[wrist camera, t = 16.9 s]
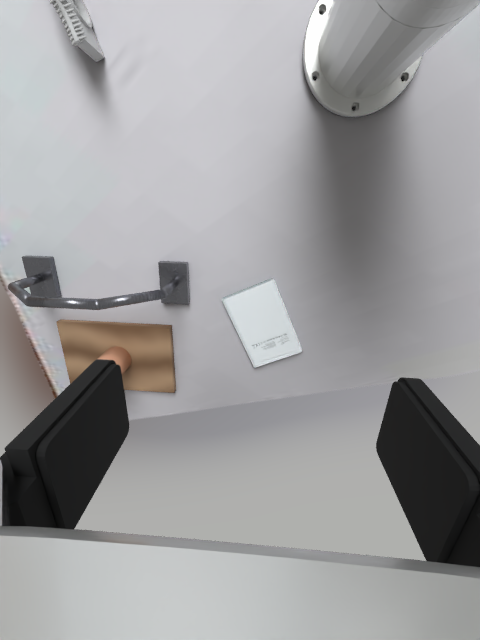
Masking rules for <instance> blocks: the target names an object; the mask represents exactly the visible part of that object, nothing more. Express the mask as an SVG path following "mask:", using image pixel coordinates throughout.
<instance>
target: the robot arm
mask: <svg viewBox="0 0 480 640" xmlns="http://www.w3.org/2000/svg"><path fill="white" fill-rule="evenodd" d="M478 4H480V0H318V2H317V4H316V6H315V8H314V10H313V12H312V14H311V17H310V20H309V23H308V26H307V30H306V34H305V39H304V47H303V65H304V72H305V76H306V80H307V83H308V85H309V87H310V90H311V92H312V93H313V95H314V96H315V98H316V99H317V101H318V102H319V103H320V104H321V105H323V106H324V107H325V108H326V109H328V110H329V111H331V112H333V113H334V114H337V115H341V116H344V117H360V116H366V115H369V114H371V113H374V112H376V111H378V110H380V109H382V108H383V107H385V106H386V105H388V104H389V103H390V102H392V101H393V100H394V99H395V98H396V97H397V96H398V95H399V94H400V93H401V92H402V91H403V90H404V89H405V88H406V86H407V85H408V84H409V83H410V81H411V80H412V78H413V76H414V74H415V72H416V70H417V69H418V67H419V64H420V62H421V59H422V56H423V54H424V53H425V52H426V51H427V50H428V49H430V48H431V47H432V46H433V45H434V44H435V43H436V42H437V41H438V40H440V39H441V38H442V37H443V36H444V35H445V34H446V33H447V32H449V31H450V30H451V29H452V28H453V27H454V26H455V25H456V24H457V23H459V22H460V21H461V20H462V19H463V18H464V17H465V16H466V15H468V14H469V13H470V12H471V11H472V10H473V9H474V8H475V7H476V6H477V5H478ZM319 12H322V13H323V15H320V14H319ZM313 77H316V79H317V80H316V81H313V80H312V78H313ZM401 77H402V78H403V82H402V81H401ZM352 107H355V111H352ZM128 431H129V421H128V414H127V407H126V400H125V393H124V386H123V380H122V373H121V367H120V365H118V364H116V362H115V361H114V360H103V359H96V360H95V361H94V362H93V363H92V364H91V365H90V366H88V367H87V368H86V369H85V370H84V371H83V372H82V373H81V374H80V375H79V376H78V377H77V378H76V379H75V380H74V381H73V382H72V383H71V384H70V385H69V386H68V387H67V388H66V389H65V390H64V391H63V392H62V393H61V394H60V395H59V396H58V397H57V398H56V399H55V400H54V401H53V402H52V403H50V405H48V406H47V407H46V408H45V409H44V410H43V411H42V412H41V413H40V414H39V415H38V416H37V417H36V418H35V419H34V420H33V421H32V422H31V423H30V424H29V425H28V426H27V427H26V428H25V429H24V430H23V431H22V432H21V433H20V434H19V435H18V436H17V437H16V438H15V439H14V440H13V441H12V442H10V443H9V444H8V445H7V446H6V448H5V451H6V452H5V453H4V454H3V455H2V456H1V457H0V640H480V445H479V444H478V443H477V442H476V441H475V440H474V439H473V437H471V435H470V434H469V433H468V432H467V431H466V430H465V428H464V427H463V426H462V425H461V424H460V423H459V422H458V421H457V419H456V418H455V417H454V416H453V415H452V414H451V413H450V412H449V410H448V409H447V408H446V407H445V406H444V405H443V404H442V403H441V402H440V400H439V399H438V398H437V397H436V396H435V395H434V393H433V392H432V391H431V390H430V389H429V388H428V387H427V386H426V385H425V383H424V382H423V381H422V380H421V379H416V378H400V379H399V380H398V382H394V383H393V385H392V388H391V391H390V395H389V399H388V403H387V406H386V410H385V413H384V418H383V421H382V424H381V428H380V432H379V436H378V439H377V443H376V448H377V453H378V455H379V458H380V460H381V462H382V465H383V467H384V469H385V471H386V473H387V475H388V477H389V480H390V482H391V484H392V486H393V489H394V491H395V493H396V495H397V497H398V500H399V502H400V504H401V506H402V508H403V511H404V513H405V515H406V517H407V519H408V521H409V523H410V526H411V528H412V530H413V532H414V534H415V537H416V539H417V541H418V543H419V545H420V548H421V550H422V552H423V554H424V557H425V558H426V560H427V561H420V560H411V559H400V558H390V557H380V556H369V555H359V554H349V553H338V552H328V551H318V550H307V549H295V548H285V547H274V546H263V545H252V544H241V543H230V542H219V541H208V540H197V539H186V538H174V537H162V536H149V535H138V534H126V533H114V532H103V531H91V530H75V529H74V528H75V527H76V525H77V523H78V521H79V520H80V518H81V516H82V514H83V513H84V511H85V509H86V507H87V505H88V504H89V502H90V500H91V498H92V497H93V495H94V493H95V491H96V490H97V488H98V486H99V484H100V482H101V481H102V479H103V477H104V475H105V474H106V472H107V470H108V468H109V467H110V465H111V463H112V461H113V459H114V458H115V456H116V454H117V452H118V451H119V449H120V447H121V445H122V444H123V442H124V440H125V438H126V436H127V434H128Z"/></svg>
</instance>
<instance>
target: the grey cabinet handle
mask: <svg viewBox="0 0 480 640" xmlns="http://www.w3.org/2000/svg"><path fill="white" fill-rule="evenodd" d="M22 260H23V264H24V268H25V272H26V275H27V278H24V279H21V280H18V281H15V282H12V283H10V284H9V285H8V289H9V290H10V291H11V292H12V293H13V294H14V295H15V296H16V297H18V298H19V299H20V300H21V301H22V302H23V303H24V304H25V305H26V306H29V307H49V308H69V309H89V310H101V309H107V308H112V307H118V306H124V305H130V304H136V303H142V302H147V301H153V300H159V299H161V302H162V303H175V304H189V302H190V297H189V271H188V262H170V261H160V262H158V263H159V276H160V289H161V290H155V291H149V292H142V293H135V294H129V295H122V296H116V297H109V298H103V299H80V298H59V297H60V296H61V291H60V287H59V282H58V277H57V272H56V268H55V263H54V258H53V257H47V256H23V257H22ZM27 287H30V291H31V294H29V293H28V292H27V291H26V290H24V288H27Z"/></svg>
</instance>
